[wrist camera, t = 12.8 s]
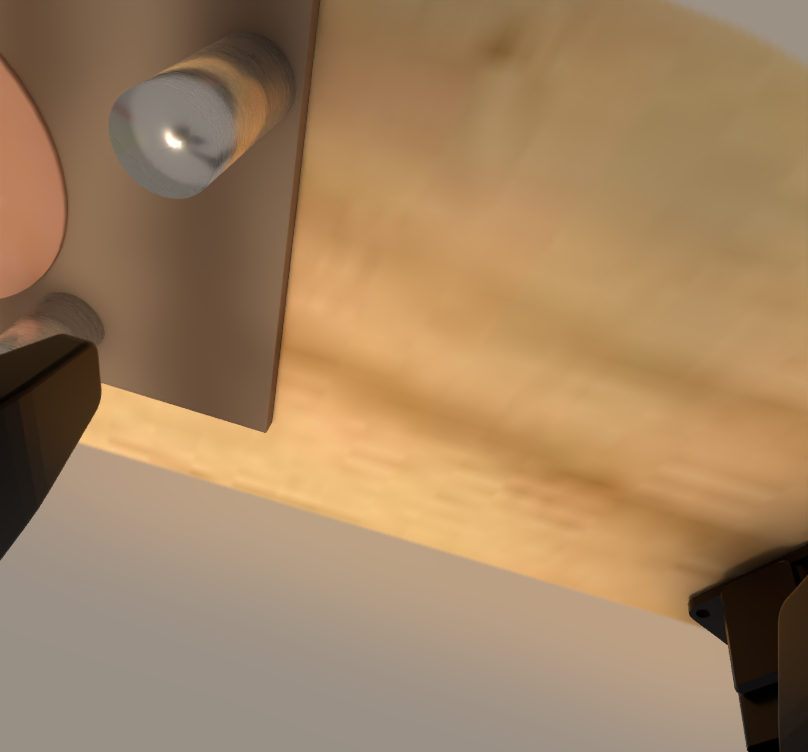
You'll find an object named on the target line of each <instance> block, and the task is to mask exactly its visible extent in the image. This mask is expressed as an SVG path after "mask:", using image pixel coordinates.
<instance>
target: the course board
mask: <svg viewBox="0 0 808 752" xmlns="http://www.w3.org/2000/svg"><path fill="white" fill-rule="evenodd" d="M319 4H320V0H0V335H1V334H2V333H3V332H4V331H6V330H7V329H8V328H9V327H10V326H12V325H13V324H14V323H15V322H16V321H18V320H19V319H20V318H21V317H22V316H23V315H25V314H26V313H27V312H28V311H29V310H31V309H32V308H33V307H34V306H35V305H37V304H38V303H39V302H40V301H41V300H43V299H44V298H45V297H46V296H47V295H49V294H52V293H56V292H63V293H68V294H71V295H74V296H76V297H78V298H80V299H82V300H83V301H85V302H86V303H87V304H89V305H90V306H91V307H92V308H93V309H94V310H95V312H96V313H97V314H98V316H99V317H100V319H101V321H102V323H103V326H104V331H105V335H104V340H103V342H102V344H101V345H100V346H99V347H98V348H97V349H98V355H99V367H100V378H101V383H104V384H107V385H110V386H113V387H117V388H120V389H123V390H127V391H130V392H133V393H136V394H140V395H143V396H146V397H150V398H153V399H156V400H159V401H163V402H166V403H169V404H172V405H176V406H179V407H182V408H186V409H189V410H192V411H195V412H199V413H202V414H205V415H209V416H212V417H215V418H218V419H222V420H225V421H228V422H231V423H235V424H238V425H241V426H245V427H248V428H251V429H254V430H258V431H261V432H264V433H266V432H267V430H268V429H269V427H270V425H271V423H272V417H273V408H274V399H275V390H276V382H277V373H278V364H279V355H280V346H281V338H282V329H283V320H284V311H285V303H286V294H287V285H288V276H289V267H290V259H291V250H292V241H293V232H294V223H295V215H296V206H297V197H298V188H299V180H300V171H301V162H302V153H303V144H304V136H305V127H306V118H307V109H308V101H309V92H310V83H311V74H312V65H313V57H314V48H315V39H316V30H317V21H318V13H319ZM242 31H246V32H254V33H257V34H260V35H262V36H264V37H266V38H268V39H269V40H271V41H272V42H273V43H275V44H276V45H277V46H278V47H279V48H280V49H281V50H282V52H283V53H284V54H285V56H286V57H287V59H288V61H289V63H290V65H291V67H292V70H293V73H294V77H295V85H296V91H295V98H294V102H293V105H292V107H291V109H290V111H289V112H288V114H287V115H286V116H285V117H284V118H283V119H282V120H281V121H279V122H278V123H277V124H276V125H275V126H274V127H273V128H272V129H271V130H269V131H268V132H267V133H266V134H265V135H264V136H263V137H262V138H261V139H259V140H258V141H257V142H256V143H255V144H254V145H253V146H252V147H250V148H249V149H248V150H247V151H246V152H245V153H244V154H243V155H242V156H240V157H239V158H238V159H237V160H236V161H235V162H234V163H233V164H232V165H230V166H229V167H228V168H227V169H226V170H225V171H224V172H223V173H221V174H220V175H219V176H218V177H217V178H216V179H215V180H214V181H213V182H211V183H210V184H209V185H208V186H207V187H206V188H205V189H204V190H202V191H201V192H200V193H198V194H196V195H194V196H192V197H189V198H183V199H173V198H167V197H162V196H160V195H157V194H155V193H153V192H150V191H149V190H147V189H145V188H144V187H142V186H141V185H140V184H138V183H137V182H136V181H135V180H134V179H133V178H132V177H131V176H130V175H129V174H128V173H127V172H126V170H125V169H124V168H123V166H122V165H121V163H120V162H119V160H118V158H117V156H116V154H115V152H114V150H113V147H112V144H111V140H110V135H109V117H110V113H111V109H112V107H113V105H114V103H115V102H116V100H117V99H118V97H119V96H121V95H122V94H123V93H124V92H125V91H127V90H129V89H130V88H132V87H134V86H136V85H138V84H140V83H141V82H143V81H145V80H147V79H149V78H151V77H152V76H154V75H156V74H158V73H160V72H162V71H163V70H165V69H167V68H169V67H171V66H173V65H174V64H176V63H178V62H180V61H182V60H184V59H185V58H187V57H189V56H191V55H193V54H195V53H196V52H198V51H200V50H202V49H204V48H206V47H208V46H209V45H211V44H213V43H215V42H217V41H219V40H220V39H222V38H224V37H226V36H228V35H230V34H232V33H236V32H242Z"/></svg>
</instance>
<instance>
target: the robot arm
mask: <svg viewBox="0 0 808 752" xmlns="http://www.w3.org/2000/svg"><path fill="white" fill-rule="evenodd" d="M100 400H101V378H100V367H99V355H98V349H97V347H96V345H95V344H94V343H93V342H91V341H89V340H86V339H83V338H79V337H76V336H73V335H69V334H57V335H54V336H51V337H48V338H45V339H42V340H40V341H37V342H34V343H31V344H28V345H25V346H22V347H20V348H17V349H14V350H11V351H8V352H5V353H3V354H0V560H1V559H2V558H3V556H4V555H5V554H6V552H7V551H8V550H9V548H10V547H11V546H12V544H13V543H14V541H15V540H16V539H17V537H18V536H19V535H20V533H21V532H22V531H23V530H24V528H25V526H27V524H28V523H29V521H30V520H31V518H32V517H33V516H34V514H35V513H36V511H37V510H38V508H39V507H40V505H41V504H42V502H43V501H44V499H45V497H46V496H47V494H48V493H49V491H50V489H51V487H52V486H53V484H54V482H55V481H56V479H57V477H58V475H59V474H60V472H61V470H62V469H63V467H64V465H65V464H66V462H67V460H68V458H69V457H70V455H71V453H72V452H73V450H74V448H75V447H76V445H77V443H78V441H79V440H80V438H81V436H82V435H83V433H84V431H85V429H86V428H87V426H88V424H89V423H90V421H91V419H92V417H93V416H94V414H95V412H96V410H97V408H98V406H99V403H100ZM688 607H689V615H690V617H691V618H692V619H694V620H695V621H696V622H698V623H699V624H700V625H702V626H703V627H704V628H706V629H707V630H708V631H710V632H711V633H712V634H714V635H715V636H716V637H718V638H719V639H720V640H722V641H723V642H724V643H726V644H727V645H728V648H729V654H730V661H731V668H732V674H733V680H734V688H735V690H736V692H737V693H738V695H739V702H740V708H741V714H742V721H743V727H744V734H745V740H746V747H747V751H748V752H808V545H807V546H805V547H803V548H800V549H798V550H796V551H794V552H792V553H790V554H787V555H785V556H783V557H781V558H779V559H777V560H774V561H772V562H770V563H768V564H766V565H764V566H761V567H759V568H757V569H755V570H753V571H751V572H748V573H746V574H744V575H742V576H740V577H738V578H735V579H733V580H731V581H729V582H727V583H725V584H722V585H720V586H718V587H716V588H714V589H712V590H709V591H707V592H705V593H703V594H701V595H699V596H696V597H694V598H692V599H691V600H690V601H689V603H688Z"/></svg>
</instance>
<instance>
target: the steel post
mask: <svg viewBox="0 0 808 752" xmlns="http://www.w3.org/2000/svg"><path fill="white" fill-rule="evenodd" d="M295 91H296V85H295V77H294V73H293V70H292V67H291V65H290V63H289V61H288V59H287V57H286V56H285V54H284V53H283V52H282V50H281V49H280V48H279V47H278V46H277V45H276V44H275V43H273V42H272V41H271V40H269V39H268V38H266V37H264V36H262V35H260V34H257V33H254V32H246V31H242V32H236V33H232V34H230V35H228V36H226V37H224V38H222V39H220V40H219V41H217V42H215V43H213V44H211V45H209V46H208V47H206V48H204V49H202V50H200V51H198V52H196V53H195V54H193V55H191V56H189V57H187V58H185V59H184V60H182V61H180V62H178V63H176V64H174V65H173V66H171V67H169V68H167V69H165V70H163V71H162V72H160V73H158V74H156V75H154V76H152V77H151V78H149V79H147V80H145V81H143V82H141V83H140V84H138V85H136V86H134V87H132V88H130V89H129V90H127V91H125V92H124V93H123V94H122V95H121V96H119V97H118V99H117V100H116V102H115V103H114V105H113V107H112V109H111V113H110V117H109V135H110V140H111V144H112V147H113V150H114V152H115V154H116V156H117V158H118V160H119V162H120V163H121V165H122V166H123V168H124V169H125V170H126V172H127V173H128V174H129V175H130V176H131V177H132V178H133V179H134V180H135V181H136V182H137V183H138V184H140V185H141V186H142V187H144V188H145V189H147V190H149V191H150V192H153V193H155V194H157V195H160V196H162V197H167V198H173V199H183V198H189V197H192V196H194V195H196V194H198V193H200V192H201V191H202V190H204V189H205V188H206V187H207V186H208V185H209V184H210V183H211V182H213V181H214V180H215V179H216V178H217V177H218V176H219V175H220V174H221V173H223V172H224V171H225V170H226V169H227V168H228V167H229V166H230V165H232V164H233V163H234V162H235V161H236V160H237V159H238V158H239V157H240V156H242V155H243V154H244V153H245V152H246V151H247V150H248V149H249V148H250V147H252V146H253V145H254V144H255V143H256V142H257V141H258V140H259V139H261V138H262V137H263V136H264V135H265V134H266V133H267V132H268V131H269V130H271V129H272V128H273V127H274V126H275V125H276V124H277V123H278V122H279V121H281V120H282V119H283V118H284V117H285V116H286V115H287V114H288V112H289V111H290V109H291V107H292V105H293V102H294V98H295ZM57 334H69V335H73V336H76V337H79V338H83V339H86V340H89V341H91V342H93V343H94V344H95V345H96V347H97V348H98V347H99V346H100V345H101V344H102V342H103V340H104V335H105V331H104V326H103V323H102V321H101V319H100V317H99V316H98V314H97V313H96V312H95V310H94V309H93V308H92V307H91V306H90V305H89V304H87V303H86V302H85V301H83V300H82V299H80V298H78V297H76V296H74V295H71V294H68V293H63V292H56V293H52V294H49V295H47V296H46V297H45V298H44V299H43V300H41V301H40V302H39V303H38V304H37V305H35V306H34V307H33V308H32V309H31V310H29V311H28V312H27V313H26V314H25V315H23V316H22V317H21V318H20V319H19V320H18V321H16V322H15V323H14V324H13V325H12V326H10V327H9V328H8V329H7V330H6V331H4V332H3V333H2V334H1V335H0V354H3V353H5V352H8V351H11V350H14V349H17V348H20V347H22V346H25V345H28V344H31V343H34V342H37V341H40V340H42V339H45V338H48V337H51V336H54V335H57Z"/></svg>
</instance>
